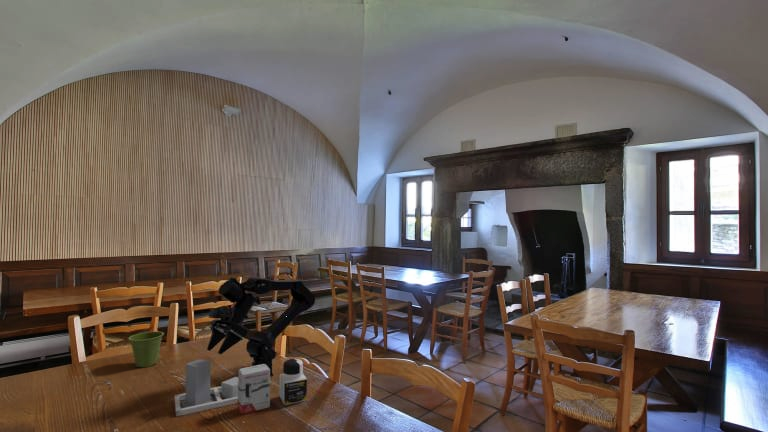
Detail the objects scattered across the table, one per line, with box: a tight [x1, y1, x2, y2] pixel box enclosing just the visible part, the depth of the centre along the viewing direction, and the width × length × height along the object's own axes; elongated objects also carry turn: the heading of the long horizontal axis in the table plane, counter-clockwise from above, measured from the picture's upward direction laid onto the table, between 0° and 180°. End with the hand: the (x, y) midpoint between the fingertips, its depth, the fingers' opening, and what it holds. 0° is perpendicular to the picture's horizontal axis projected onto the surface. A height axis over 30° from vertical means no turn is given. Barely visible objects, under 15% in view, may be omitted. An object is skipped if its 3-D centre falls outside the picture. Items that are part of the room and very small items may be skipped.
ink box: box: [237, 364, 271, 415], centre depth 119 cm, size 8×5×12 cm, turn 123°
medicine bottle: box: [278, 358, 308, 406], centre depth 125 cm, size 7×7×12 cm
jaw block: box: [185, 358, 212, 406], centre depth 121 cm, size 5×5×12 cm
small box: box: [220, 376, 238, 399], centre depth 127 cm, size 6×6×5 cm
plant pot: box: [128, 330, 165, 368], centre depth 153 cm, size 12×12×11 cm
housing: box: [174, 386, 238, 418], centre depth 124 cm, size 22×12×2 cm, turn 120°
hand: (213, 351), depth 128 cm, fingers open, 9 cm apart
